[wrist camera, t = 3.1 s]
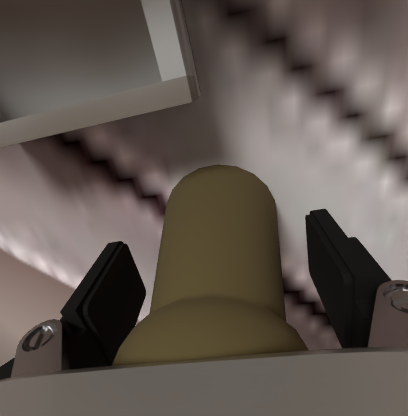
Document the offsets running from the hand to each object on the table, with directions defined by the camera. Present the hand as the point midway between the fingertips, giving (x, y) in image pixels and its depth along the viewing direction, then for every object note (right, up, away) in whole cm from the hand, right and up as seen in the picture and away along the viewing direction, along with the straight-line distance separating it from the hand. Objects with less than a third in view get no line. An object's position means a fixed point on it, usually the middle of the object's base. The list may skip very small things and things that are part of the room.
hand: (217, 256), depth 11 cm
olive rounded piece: (0, +2, +3) cm, 4 cm away
